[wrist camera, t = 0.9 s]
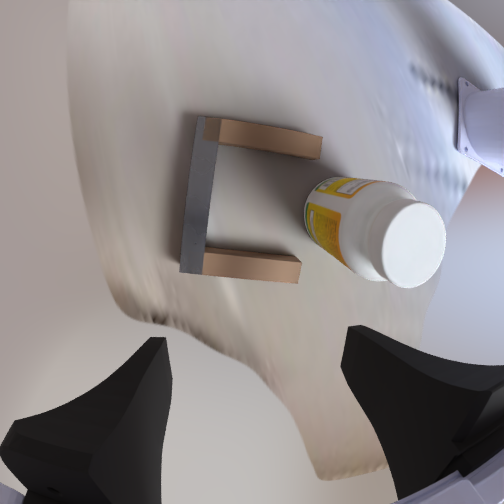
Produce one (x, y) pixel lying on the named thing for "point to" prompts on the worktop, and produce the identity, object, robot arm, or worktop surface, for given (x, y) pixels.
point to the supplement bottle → (376, 229)
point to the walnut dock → (199, 197)
